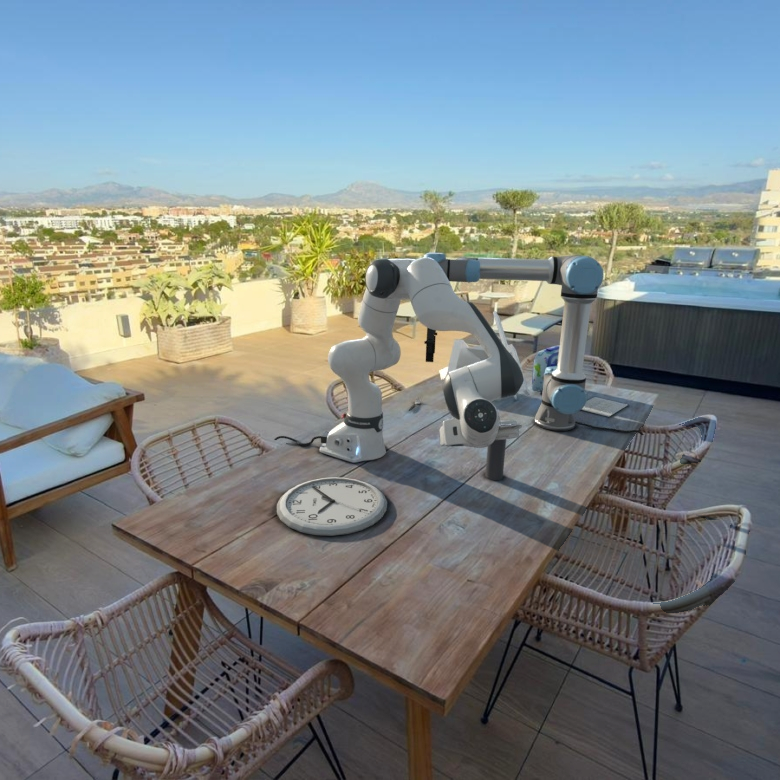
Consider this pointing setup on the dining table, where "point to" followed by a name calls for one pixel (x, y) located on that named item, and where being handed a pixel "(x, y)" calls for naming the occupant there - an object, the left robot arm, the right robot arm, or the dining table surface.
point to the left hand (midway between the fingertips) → (478, 438)
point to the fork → (415, 403)
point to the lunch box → (543, 366)
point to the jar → (495, 460)
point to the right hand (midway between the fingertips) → (430, 357)
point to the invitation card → (603, 406)
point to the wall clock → (331, 506)
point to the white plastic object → (477, 354)
